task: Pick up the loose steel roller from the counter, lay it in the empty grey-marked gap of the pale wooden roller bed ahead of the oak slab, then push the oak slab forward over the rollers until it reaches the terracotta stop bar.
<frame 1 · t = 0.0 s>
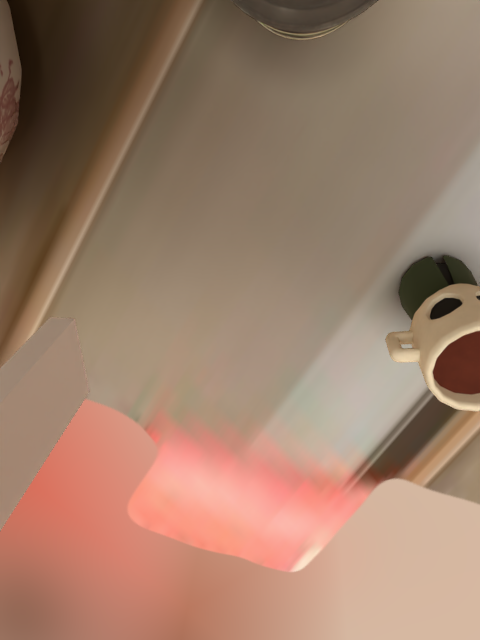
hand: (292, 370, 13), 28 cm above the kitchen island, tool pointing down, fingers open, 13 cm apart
character mug: (432, 284, 41), on the kitchen island
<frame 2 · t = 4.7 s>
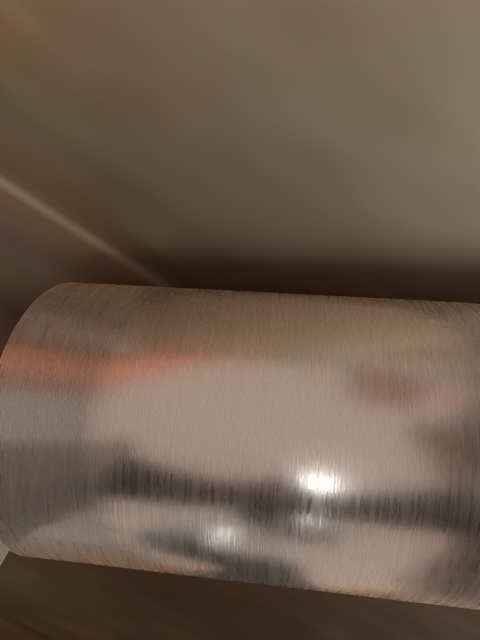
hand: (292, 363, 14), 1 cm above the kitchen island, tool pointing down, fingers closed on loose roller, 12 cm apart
loose roller: (292, 348, 15), on the kitchen island, touching gripper
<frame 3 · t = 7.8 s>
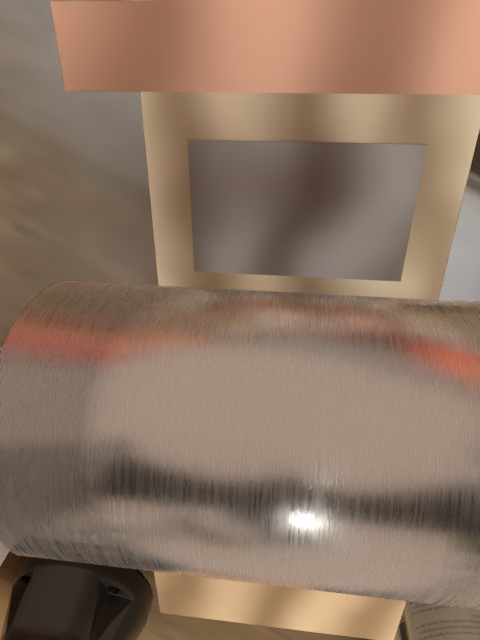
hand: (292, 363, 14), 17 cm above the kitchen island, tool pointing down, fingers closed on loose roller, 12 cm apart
coffee can: (429, 544, 42), on the kitchen island
roller bed: (291, 321, 32), on the kitchen island
oak slab: (281, 515, 28), point 10 cm above the kitchen island, slide at 0.0 cm
loose roller: (292, 347, 15), point 16 cm above the kitchen island, touching gripper
when the fingers open (3 cm above the kitchen island, at t = 11.0 s): loose roller stays where it is, resting on roller bed.
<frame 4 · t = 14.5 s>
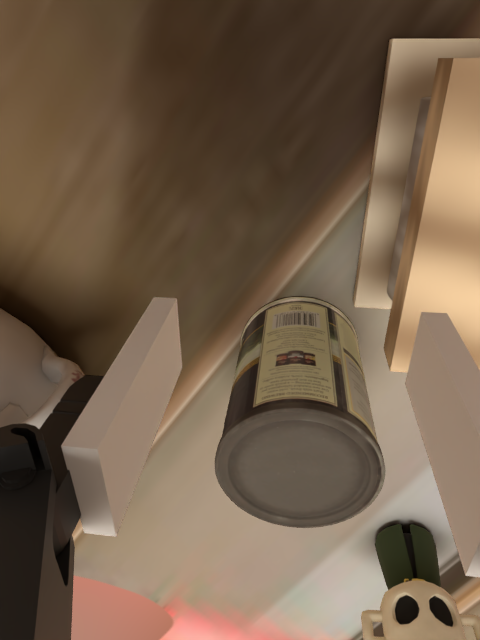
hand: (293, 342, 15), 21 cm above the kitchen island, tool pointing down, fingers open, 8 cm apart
coffee can: (299, 347, 40), on the kitchen island
character mug: (402, 536, 51), on the kitchen island
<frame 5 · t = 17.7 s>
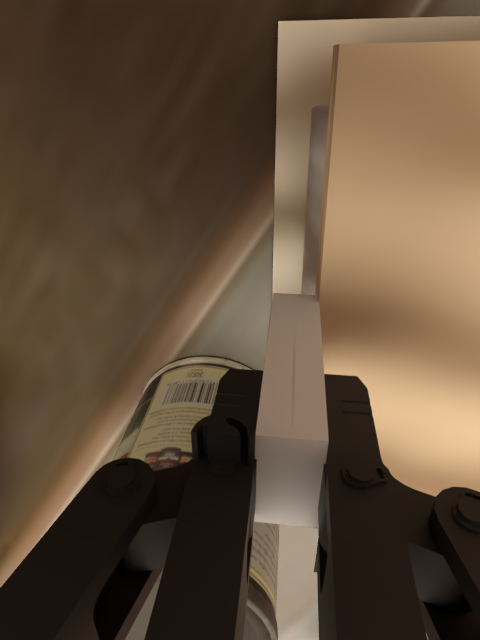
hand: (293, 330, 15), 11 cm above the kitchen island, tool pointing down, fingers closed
coffee can: (214, 413, 32), on the kitchen island
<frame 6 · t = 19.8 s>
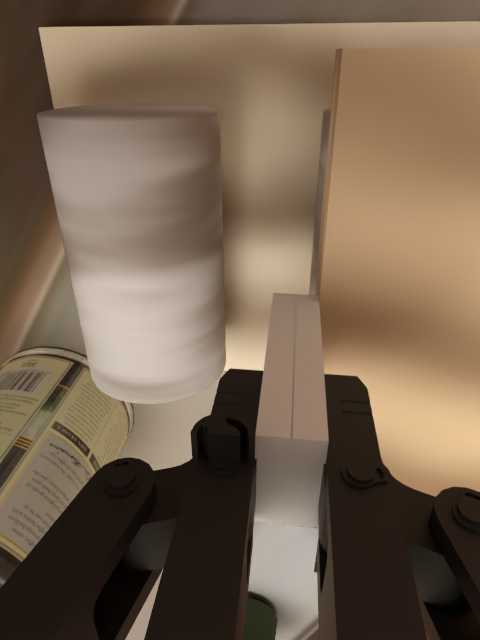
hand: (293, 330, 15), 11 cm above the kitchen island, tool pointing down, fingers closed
coffee can: (67, 403, 33), on the kitchen island
roller bed: (436, 230, 24), on the kitchen island
character mug: (245, 606, 44), on the kitchen island
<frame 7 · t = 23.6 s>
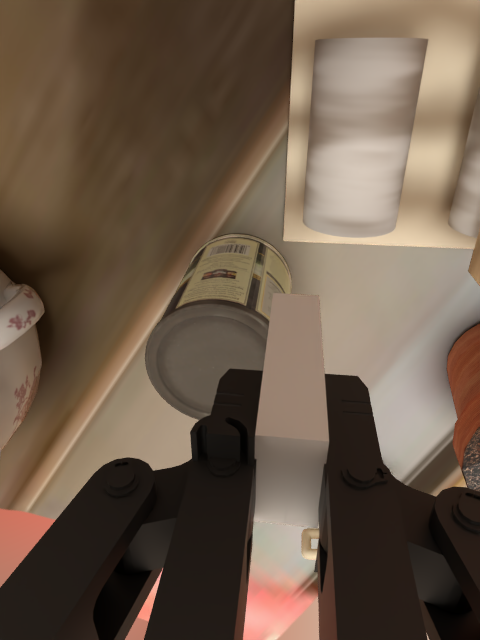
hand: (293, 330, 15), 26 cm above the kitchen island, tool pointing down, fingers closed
coffee can: (240, 283, 44), on the kitchen island
character mug: (347, 469, 55), on the kitchen island
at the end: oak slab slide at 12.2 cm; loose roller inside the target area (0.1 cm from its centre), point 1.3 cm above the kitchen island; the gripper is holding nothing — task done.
